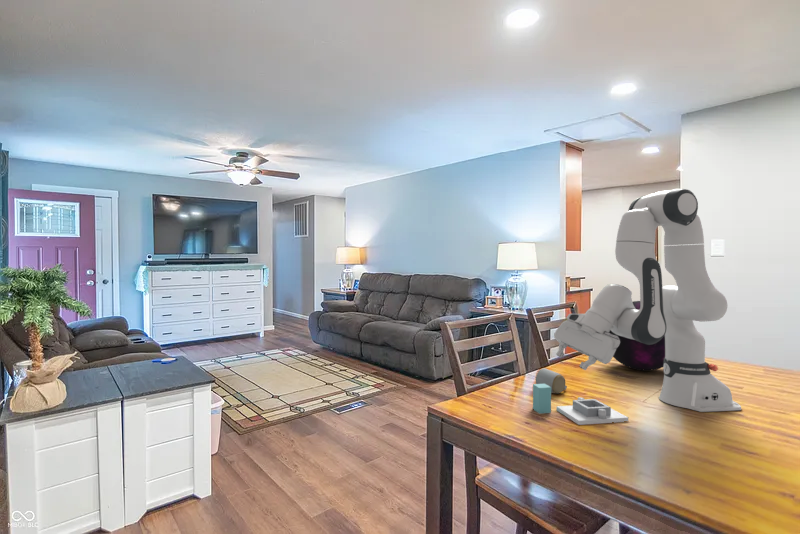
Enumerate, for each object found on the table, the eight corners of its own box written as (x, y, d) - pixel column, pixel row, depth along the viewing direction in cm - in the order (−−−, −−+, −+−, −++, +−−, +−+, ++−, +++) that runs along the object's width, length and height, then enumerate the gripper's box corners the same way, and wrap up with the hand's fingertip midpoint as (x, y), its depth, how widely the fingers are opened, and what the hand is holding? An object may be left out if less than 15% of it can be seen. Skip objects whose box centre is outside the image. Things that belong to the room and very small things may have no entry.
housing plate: (601, 407, 135) (601, 395, 135) (628, 421, 122) (629, 409, 122) (556, 409, 132) (556, 398, 132) (579, 425, 120) (579, 412, 120)
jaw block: (544, 408, 133) (544, 383, 133) (551, 412, 130) (551, 387, 129) (532, 409, 133) (533, 384, 133) (539, 413, 129) (539, 387, 129)
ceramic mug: (553, 396, 145) (554, 374, 145) (534, 390, 152) (535, 369, 152) (572, 392, 151) (573, 370, 151) (553, 386, 158) (554, 365, 158)
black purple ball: (699, 379, 167) (700, 304, 166) (624, 378, 167) (625, 304, 167) (654, 361, 197) (655, 298, 196) (590, 361, 197) (591, 297, 197)
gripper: (627, 343, 125) (602, 381, 124) (574, 322, 143) (551, 354, 142) (618, 332, 122) (592, 371, 121) (564, 312, 141) (541, 345, 139)
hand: (570, 362), depth 132 cm, fingers open, 8 cm apart
